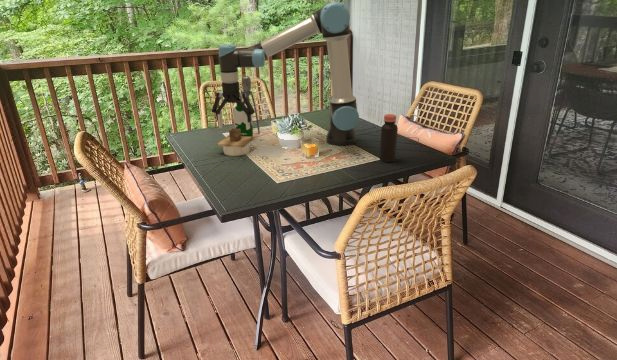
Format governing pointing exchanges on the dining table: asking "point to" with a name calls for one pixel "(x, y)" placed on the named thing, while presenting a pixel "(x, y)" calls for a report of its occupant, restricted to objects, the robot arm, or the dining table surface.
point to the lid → (235, 139)
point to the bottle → (388, 139)
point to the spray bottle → (246, 88)
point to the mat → (268, 151)
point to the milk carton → (242, 121)
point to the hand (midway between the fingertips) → (234, 128)
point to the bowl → (236, 150)
